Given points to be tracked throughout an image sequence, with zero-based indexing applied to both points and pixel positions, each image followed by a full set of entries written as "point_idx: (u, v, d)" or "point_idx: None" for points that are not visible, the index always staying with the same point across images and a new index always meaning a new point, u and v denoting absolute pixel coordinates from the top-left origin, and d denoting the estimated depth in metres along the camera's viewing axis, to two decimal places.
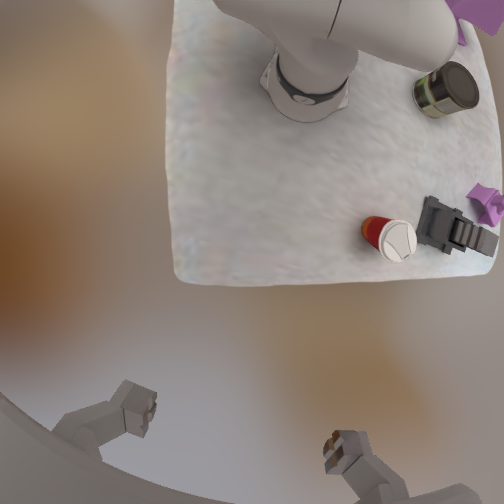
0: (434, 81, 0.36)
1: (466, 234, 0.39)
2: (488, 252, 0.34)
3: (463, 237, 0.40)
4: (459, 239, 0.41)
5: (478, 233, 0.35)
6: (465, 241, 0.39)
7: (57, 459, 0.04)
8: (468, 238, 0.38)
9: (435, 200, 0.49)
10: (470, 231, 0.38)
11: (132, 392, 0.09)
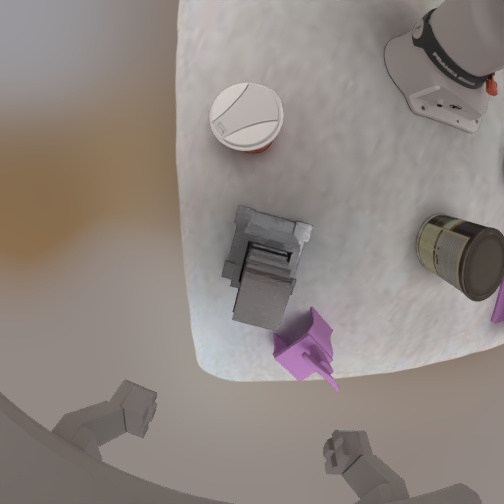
0: (478, 224, 0.28)
1: (268, 262, 0.27)
2: (242, 303, 0.22)
3: (261, 259, 0.28)
4: (255, 254, 0.29)
5: (276, 276, 0.24)
6: (255, 260, 0.27)
7: (57, 459, 0.04)
8: (262, 263, 0.26)
9: (306, 234, 0.38)
10: (275, 268, 0.26)
11: (132, 392, 0.09)
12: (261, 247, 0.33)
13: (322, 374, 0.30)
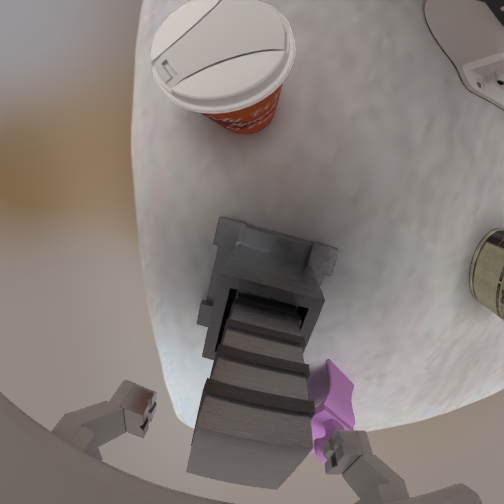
0: None
1: (263, 347, 0.13)
2: (202, 458, 0.08)
3: (249, 337, 0.13)
4: (240, 323, 0.14)
5: (280, 398, 0.10)
6: (236, 344, 0.12)
7: (57, 459, 0.04)
8: (250, 355, 0.12)
9: (328, 264, 0.24)
10: (279, 363, 0.12)
11: (132, 392, 0.09)
12: (254, 296, 0.18)
13: None
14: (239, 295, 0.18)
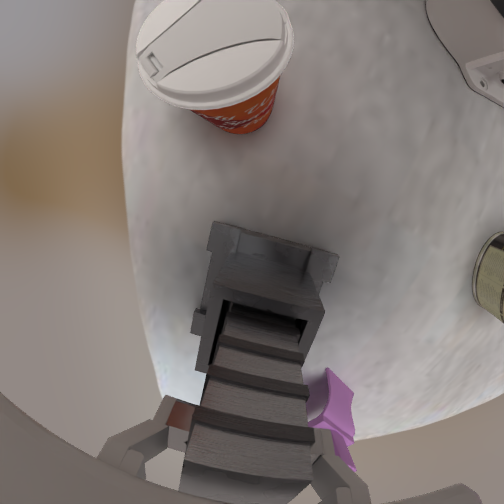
0: None
1: (258, 366, 0.11)
2: (193, 487, 0.07)
3: (244, 354, 0.12)
4: (233, 339, 0.13)
5: (277, 425, 0.08)
6: (229, 364, 0.11)
7: (57, 459, 0.04)
8: (244, 377, 0.10)
9: (327, 271, 0.22)
10: (276, 384, 0.10)
11: (175, 408, 0.09)
12: (249, 308, 0.17)
13: None
14: (233, 306, 0.16)
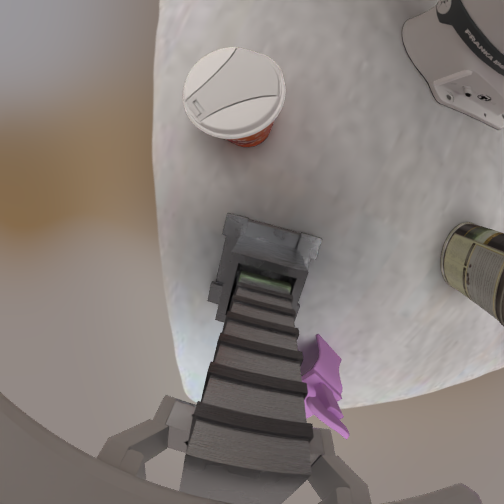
0: None
1: (258, 364, 0.12)
2: (194, 482, 0.07)
3: (244, 353, 0.12)
4: (233, 338, 0.13)
5: (276, 421, 0.09)
6: (229, 362, 0.11)
7: (57, 459, 0.04)
8: (244, 374, 0.11)
9: (313, 250, 0.30)
10: (275, 382, 0.11)
11: (175, 408, 0.09)
12: (248, 308, 0.17)
13: (331, 425, 0.22)
14: (233, 306, 0.17)
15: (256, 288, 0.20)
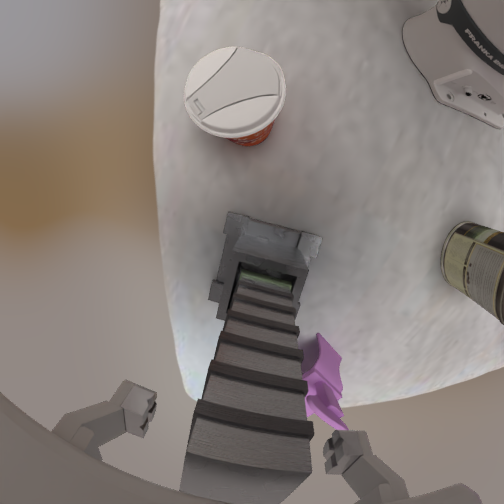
0: None
1: (259, 362, 0.12)
2: (194, 480, 0.07)
3: (244, 351, 0.12)
4: (234, 336, 0.13)
5: (277, 419, 0.09)
6: (230, 360, 0.11)
7: (57, 459, 0.04)
8: (245, 372, 0.11)
9: (314, 249, 0.30)
10: (275, 379, 0.11)
11: (132, 392, 0.09)
12: (249, 306, 0.17)
13: (331, 424, 0.22)
14: (234, 305, 0.17)
15: (257, 286, 0.20)
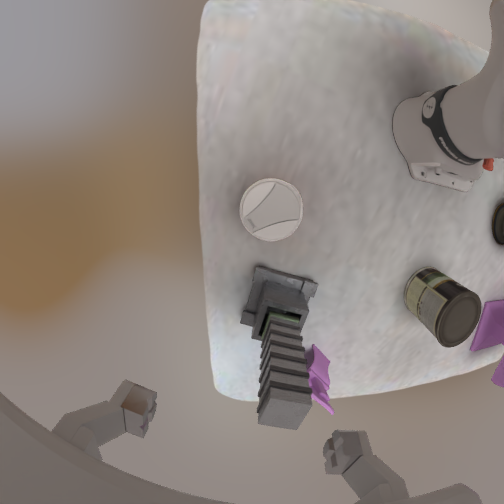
0: (457, 284, 0.36)
1: (288, 365, 0.27)
2: (268, 413, 0.22)
3: (281, 360, 0.28)
4: (275, 353, 0.28)
5: (298, 386, 0.24)
6: (276, 364, 0.27)
7: (57, 459, 0.04)
8: (283, 369, 0.26)
9: (312, 291, 0.45)
10: (296, 372, 0.26)
11: (132, 392, 0.09)
12: (278, 336, 0.32)
13: (321, 403, 0.37)
14: (271, 336, 0.32)
15: (280, 323, 0.35)
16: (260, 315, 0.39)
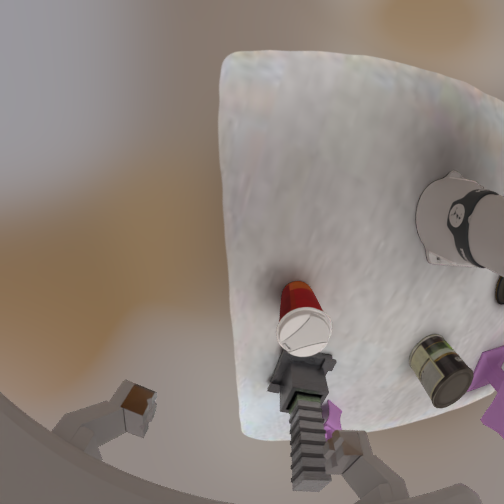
0: (455, 359, 0.38)
1: (314, 449, 0.30)
2: (300, 486, 0.25)
3: (309, 446, 0.31)
4: (304, 440, 0.32)
5: (322, 467, 0.27)
6: (306, 450, 0.30)
7: (57, 459, 0.04)
8: (311, 454, 0.29)
9: (330, 367, 0.48)
10: (320, 455, 0.29)
11: (132, 392, 0.09)
12: (305, 422, 0.35)
13: None
14: (300, 423, 0.35)
15: (306, 408, 0.38)
16: (288, 397, 0.42)
